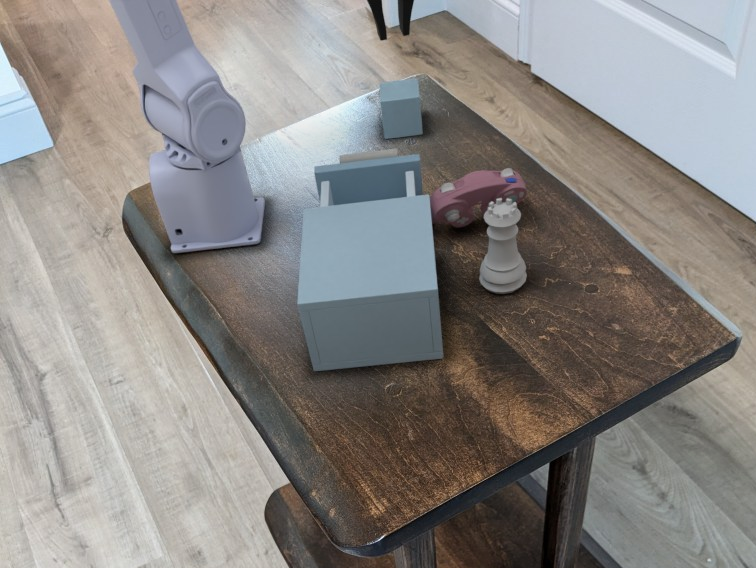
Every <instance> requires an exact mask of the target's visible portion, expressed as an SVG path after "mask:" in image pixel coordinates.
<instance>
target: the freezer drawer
mask: <svg viewBox="0 0 756 568" xmlns="http://www.w3.org/2000/svg"><path fill="white" fill-rule="evenodd" d="M338 160H339V163H332V164H324V165H316V166H314V171H313V174H314V179H315V183H316V184H315V185H316V190H317V194H318V200H319V207H324V206H333V205H341V204H350V203H359V202H367V201H376V200H384V199H393V198H402V197H410V196H419V195H424V189H423V176H422V167H421V156H420V153H417V154H408V155H399V149H398V148H389V149H381V150H373V151H372V150H371V151H363V152H356V153H347V154H340V155H339V159H338Z"/></svg>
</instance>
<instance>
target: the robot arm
mask: <svg viewBox="0 0 756 568" xmlns="http://www.w3.org/2000/svg"><path fill="white" fill-rule="evenodd" d="M366 1H367V3H368V6H369V8H370V10H371V14H372V16H373V19H374V24H375V28H376V33H377V35H378V38H379V41H387V40H388V35H387V25H386V20H385V15H384V9H383V0H366ZM108 2H109V4H110V6H111V9H112V10H113V12H114V14H115V17H116V18H117V21H118V23H119V24H120V25H119V26H120V27H121V29H122V31H123V33H124V36H125V37H126V40H127V41H128V44H129V45H130V47H131V50H132V52H133V53H134V56H135V58H136V60H137V61H136V63H135V65H134V66H133V68H132V75H133V77H134V79H135V81H136V82H137V85H138V89H139V101H140V102H139V104H140V110H141V113H142V116H143V118H144V120H145V121H146V123H147V124H148V125H149V126H150V127H151V128H152V129H153V130H155V131H156V132H158V133H160V134H161V137H162V139H163V142H164V149H162V150H159V151H156V152H153V153H151V154H150V156H149V160H148V175H149V181H150V187H151V191H152V194H153V198H154V201H155V203H156V206H157V209H158V211H159V215H160V217H161V220H162V223H163V226H164V228H165V231H166V234H167V237H168V240H169V241H170V244H171V245H170V251H171V253H173V254H181V253H190V252H198V251H199V252H200V251H207V250H214V249H215V250H217V249H223V248H224V249H225V248H231V247H232V248H233V247H242V246H251V245H258V244H259V243H260V242H261V239H262V231H263V223H264V214H265V207H266V206H265V204H266V200H265V198H264V197H262V196H260V197H254V193H253V190H252V185H251V182H250V179H249V174H248V171H247V167H246V163H245V159H244V156H243V152H242V148H241V145H242V143H243V140H244V137H245V134H246V128H247V127H246V126H247V123H246V115H245V112H244V109H243V107H242V105H241V104H240V102H239V101H238V100H237V98H236V97H235V96H233V95H231V94H230V93H229V92H228V90H226V88H225V86H224V84H223V83H222V80H221V77H220V75H219V73H218V72H217V71H216V70H215V68H214V67H213V66H212V65H211V63H210V62H209V61H208V59H207V58H206V57H205V56H204V54H203V53H202V52H201V51H200V50H199V48H198V47H197V45H196V44H195V42H194V39H193V36H192V34H191V33H190V30H189V27H188V25H187V23H186V21H185V18H184V16H183V13H182V11H181V9H180V6H179V3H178V1H177V0H108ZM414 2H415V0H397V16H398V24H399V30H400V32H401V35H402V36H403V37H407V36H410V33H411V32H410V31H411V19H412V13H413V8H414Z"/></svg>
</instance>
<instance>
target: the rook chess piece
mask: <svg viewBox="0 0 756 568" xmlns="http://www.w3.org/2000/svg"><path fill="white" fill-rule="evenodd" d="M521 217H522V213H521V210H520V209H519V208H518V203H517V204H516V202H514V203H513V204H512V199H509V198H507V199H506V203H502V198H498V199H496V204H494V202H493V201H491V202H490V203H489V207H488V210H487V211H486V212H485V214H484V218H483V220H484V223H486V224H487V225H488V227H487V229H486V234H487V236H488V246H487V253H486V254H485V256H484V259H483V260H481V264H480V267H479V277H478V280H479V282H480V285H481V286H482V287H484V288H485V289H486V290H487V291H488V292H490V293H493V294H496V295H505V294H506V295H507V294H511V293H514V292H516V291H517V290H519V289H520V288H521V287H522V286H524V284H525V283H526V281H527V276H528V274H527V272H526V271H527V265H526V262H525V260H524V258H523V257H522V255H521V253H520V252H519V248H518V243H517V235H518V233H519V227H518V225H517V223H518V222H519V221H520V220H521Z"/></svg>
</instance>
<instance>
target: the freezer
mask: <svg viewBox="0 0 756 568" xmlns="http://www.w3.org/2000/svg"><path fill="white" fill-rule="evenodd" d="M430 196H431V195H430V194H429V193H428V194H423V195H419V196H410V197H402V198H393V199H384V200H376V201H367V202H359V203H350V204H341V205H333V206H324V207H320V206H316V207H308V208H303V213H302V225H301V241H300V242H301V243H300V256H299V257H300V258H299V270H298V287H297V302H296V305H297V309H298V314H299V317H300V322H301V325H302V330H303V333H304V337H305V342H306V345H307V349H308V350H307V351H308V353H309V358H310V363H311V365H312V368H313V372H323V371H333V370H343V369H354V368H362V367H363V368H364V367H373V366H381V365H382V366H383V365H392V364H402V363H411V362H422V361H433V360H440V359H444V346H443V335H442V334H443V333H442V322H441V311H440V310H441V309H440V298H439V287H438V275H437V264H436V254H435V253H436V252H435V242H434V231H433V230H434V229H433V224H432V218H431V207H430Z"/></svg>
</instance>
